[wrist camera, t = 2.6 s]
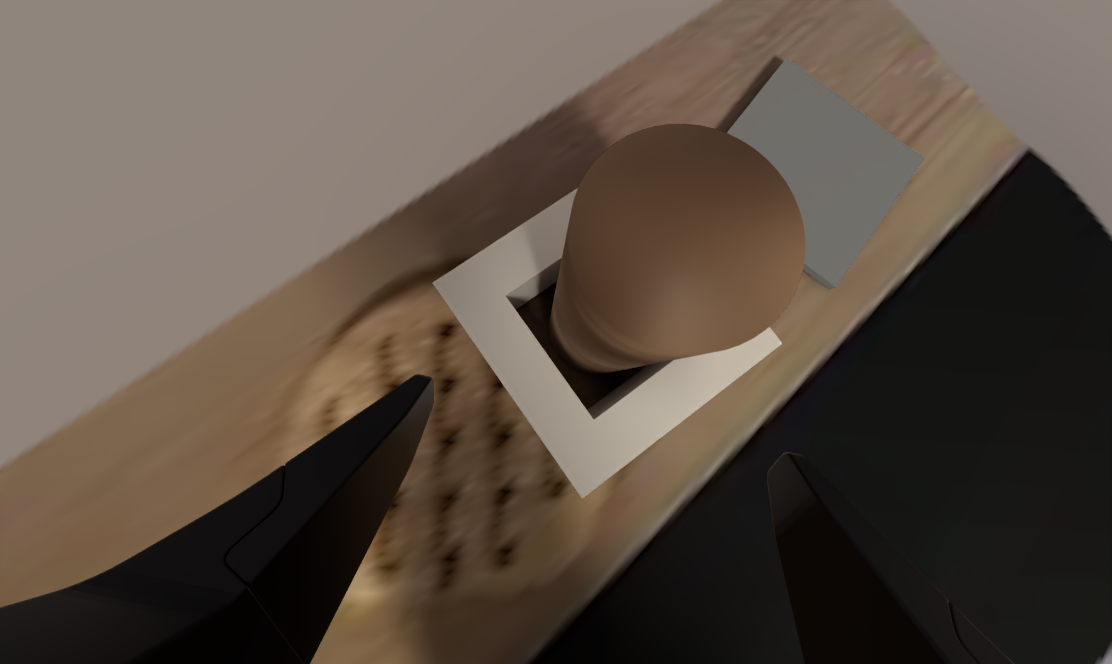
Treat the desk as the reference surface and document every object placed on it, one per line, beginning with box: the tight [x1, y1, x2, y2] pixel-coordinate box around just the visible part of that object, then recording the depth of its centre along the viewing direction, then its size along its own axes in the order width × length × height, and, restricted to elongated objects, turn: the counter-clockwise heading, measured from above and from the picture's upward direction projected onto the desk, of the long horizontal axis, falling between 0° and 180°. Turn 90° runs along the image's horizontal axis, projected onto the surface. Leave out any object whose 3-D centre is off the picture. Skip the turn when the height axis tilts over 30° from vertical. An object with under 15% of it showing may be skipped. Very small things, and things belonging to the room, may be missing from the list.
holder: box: [433, 188, 782, 498], centre depth 19 cm, size 11×11×4 cm
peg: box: [549, 124, 806, 374], centre depth 15 cm, size 5×5×13 cm
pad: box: [727, 58, 925, 289], centre depth 23 cm, size 10×10×1 cm
